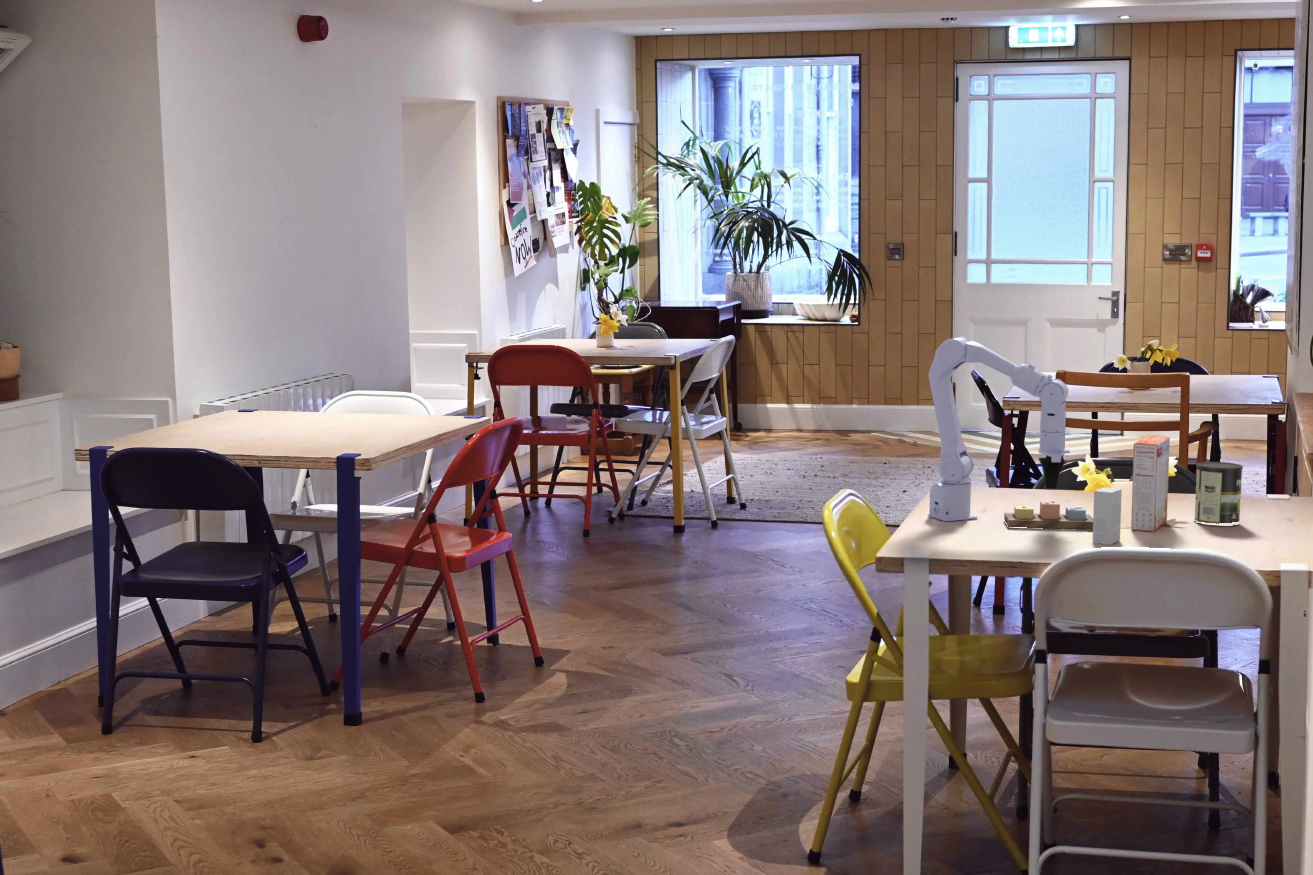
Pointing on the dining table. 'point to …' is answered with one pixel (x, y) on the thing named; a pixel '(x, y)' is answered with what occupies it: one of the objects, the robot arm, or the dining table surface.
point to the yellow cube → (1023, 512)
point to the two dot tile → (1049, 509)
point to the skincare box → (1107, 515)
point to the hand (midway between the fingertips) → (1050, 488)
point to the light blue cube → (1075, 513)
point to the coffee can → (1218, 492)
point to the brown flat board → (1049, 522)
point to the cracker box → (1150, 483)
